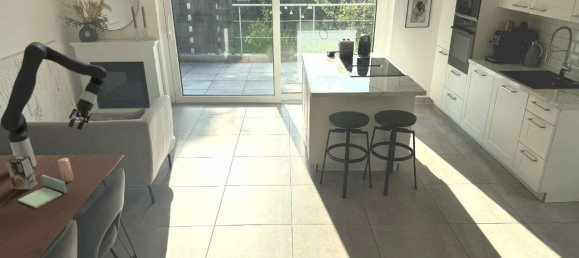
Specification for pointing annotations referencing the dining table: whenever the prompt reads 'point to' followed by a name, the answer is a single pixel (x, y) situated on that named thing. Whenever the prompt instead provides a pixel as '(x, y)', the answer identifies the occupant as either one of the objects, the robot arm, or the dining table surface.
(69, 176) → the peach rounded cylinder
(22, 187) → the coffee box
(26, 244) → the dining table surface
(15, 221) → the dining table surface
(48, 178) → the low wall
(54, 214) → the dining table surface
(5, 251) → the dining table surface
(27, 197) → the pad
